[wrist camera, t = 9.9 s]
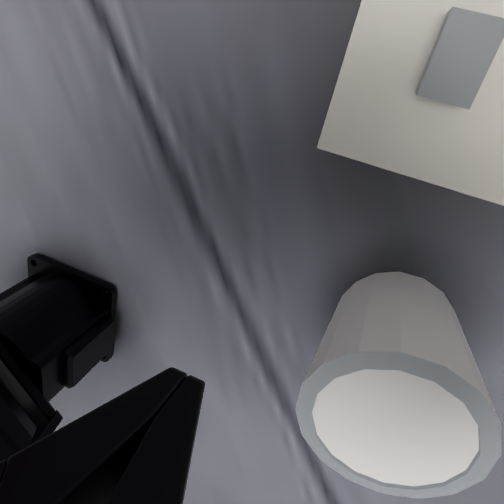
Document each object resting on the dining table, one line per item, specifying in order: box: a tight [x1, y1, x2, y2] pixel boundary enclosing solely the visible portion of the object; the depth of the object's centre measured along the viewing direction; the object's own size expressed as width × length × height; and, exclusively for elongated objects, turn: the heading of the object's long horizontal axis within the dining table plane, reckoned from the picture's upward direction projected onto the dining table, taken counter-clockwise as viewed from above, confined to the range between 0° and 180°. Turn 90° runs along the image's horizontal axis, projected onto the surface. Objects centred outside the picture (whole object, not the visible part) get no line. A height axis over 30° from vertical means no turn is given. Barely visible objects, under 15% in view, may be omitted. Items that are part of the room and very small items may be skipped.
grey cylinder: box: [295, 271, 501, 499], centre depth 17 cm, size 7×7×7 cm
